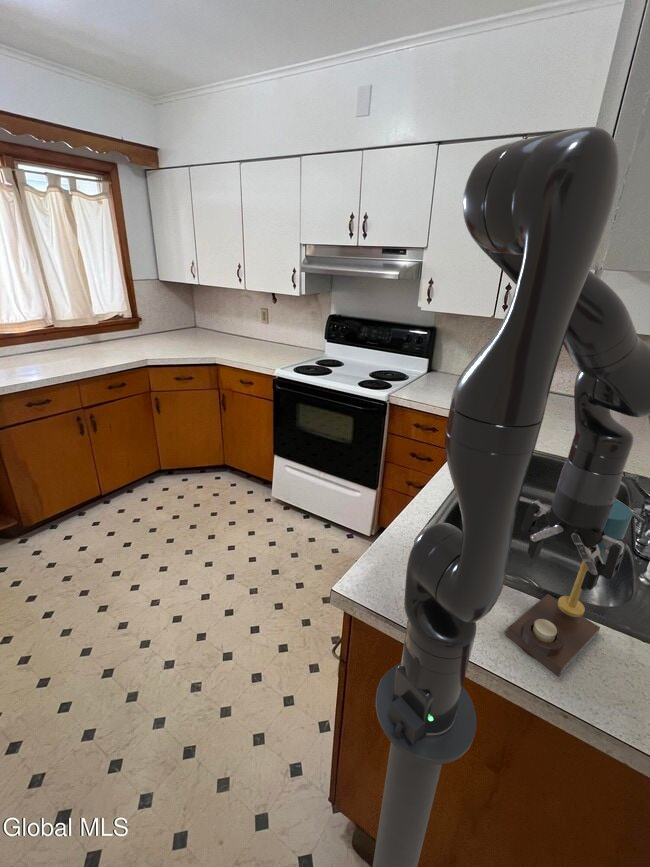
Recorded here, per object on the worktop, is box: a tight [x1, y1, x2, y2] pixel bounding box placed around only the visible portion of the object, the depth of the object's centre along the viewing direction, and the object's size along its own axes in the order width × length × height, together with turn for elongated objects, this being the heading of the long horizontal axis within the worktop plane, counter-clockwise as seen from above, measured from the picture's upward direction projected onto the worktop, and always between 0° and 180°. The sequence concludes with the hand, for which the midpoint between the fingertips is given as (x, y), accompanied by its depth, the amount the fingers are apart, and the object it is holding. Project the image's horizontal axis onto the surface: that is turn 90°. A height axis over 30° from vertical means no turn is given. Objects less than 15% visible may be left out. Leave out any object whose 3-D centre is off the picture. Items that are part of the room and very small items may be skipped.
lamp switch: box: [532, 619, 557, 643], centre depth 75 cm, size 4×4×2 cm
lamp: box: [557, 499, 634, 617], centre depth 75 cm, size 7×7×23 cm
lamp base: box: [505, 593, 601, 677], centre depth 78 cm, size 15×10×4 cm
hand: (558, 571), depth 70 cm, fingers open, 8 cm apart
